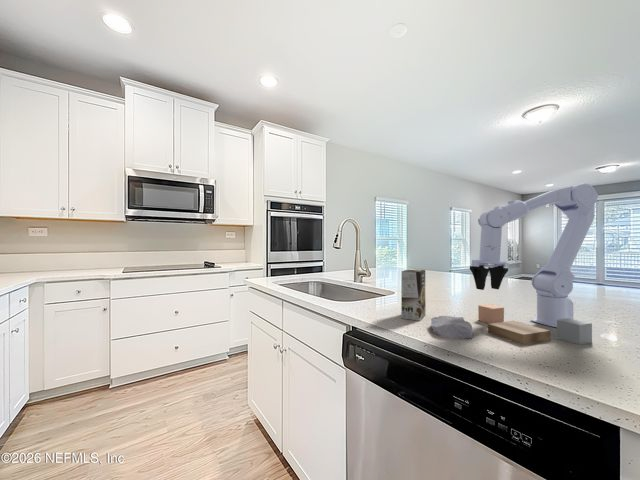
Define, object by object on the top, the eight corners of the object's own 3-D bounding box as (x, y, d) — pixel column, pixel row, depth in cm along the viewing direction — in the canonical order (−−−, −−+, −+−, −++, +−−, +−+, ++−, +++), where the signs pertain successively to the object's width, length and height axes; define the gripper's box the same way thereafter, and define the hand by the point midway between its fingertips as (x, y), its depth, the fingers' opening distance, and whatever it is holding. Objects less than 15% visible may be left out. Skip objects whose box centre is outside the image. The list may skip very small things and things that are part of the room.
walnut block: (513, 330, 82) (512, 320, 82) (550, 342, 73) (550, 330, 73) (487, 334, 79) (487, 323, 79) (523, 346, 70) (523, 334, 70)
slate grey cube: (569, 336, 76) (569, 318, 76) (592, 342, 72) (591, 323, 72) (557, 338, 75) (556, 319, 75) (579, 345, 70) (579, 325, 70)
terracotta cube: (489, 319, 94) (489, 304, 94) (503, 323, 89) (503, 307, 89) (478, 320, 92) (478, 305, 92) (492, 324, 87) (492, 308, 87)
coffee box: (420, 321, 91) (420, 271, 91) (400, 318, 94) (400, 270, 94) (426, 315, 98) (426, 269, 98) (407, 312, 102) (407, 268, 102)
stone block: (437, 344, 75) (477, 339, 74) (433, 326, 76) (472, 321, 74) (429, 332, 87) (463, 327, 85) (426, 316, 87) (460, 312, 86)
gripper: (492, 247, 97) (489, 286, 97) (464, 245, 90) (461, 287, 90) (513, 248, 90) (511, 290, 90) (484, 246, 84) (482, 291, 84)
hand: (487, 289), depth 90 cm, fingers open, 7 cm apart
